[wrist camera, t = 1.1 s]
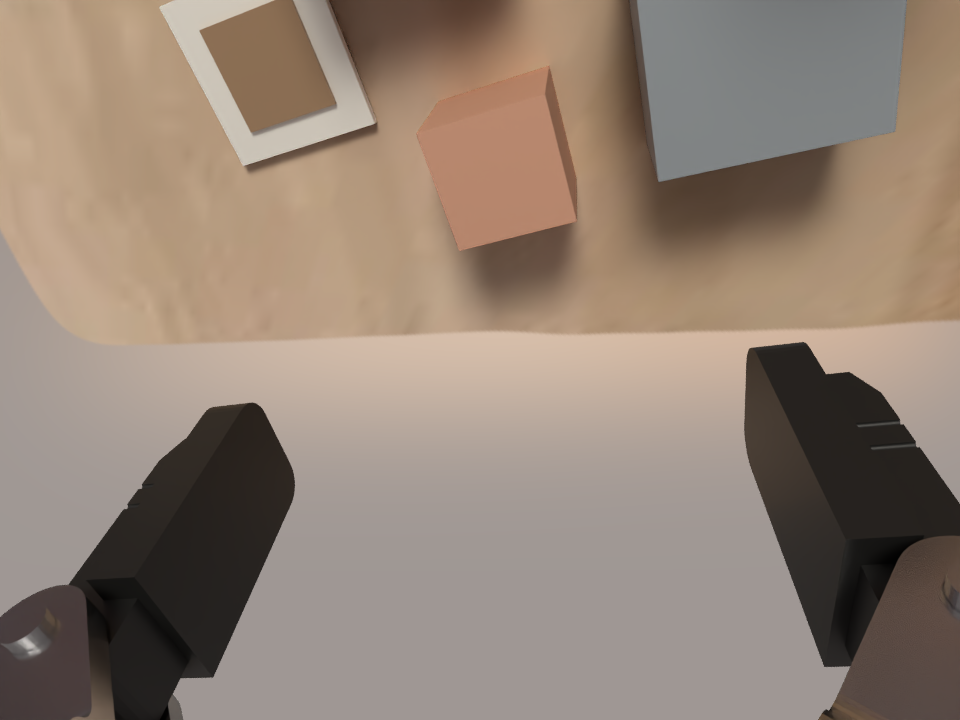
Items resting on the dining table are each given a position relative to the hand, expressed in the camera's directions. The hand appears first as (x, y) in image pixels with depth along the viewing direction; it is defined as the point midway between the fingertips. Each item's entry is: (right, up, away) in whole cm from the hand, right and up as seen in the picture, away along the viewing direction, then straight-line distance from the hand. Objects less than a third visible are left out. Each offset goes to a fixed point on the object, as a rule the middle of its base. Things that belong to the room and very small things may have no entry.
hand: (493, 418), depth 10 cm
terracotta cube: (+1, +11, +18) cm, 21 cm away
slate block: (+10, +14, +14) cm, 23 cm away
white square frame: (-9, +14, +17) cm, 24 cm away
